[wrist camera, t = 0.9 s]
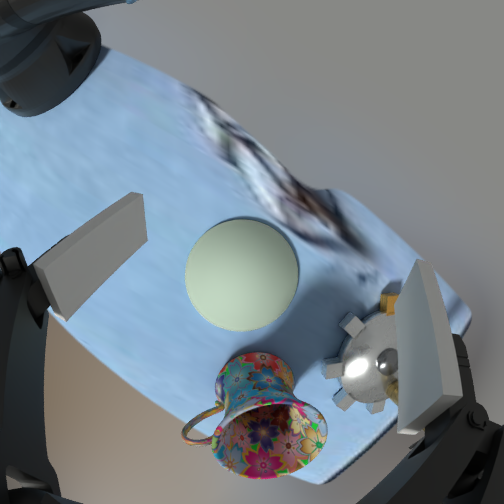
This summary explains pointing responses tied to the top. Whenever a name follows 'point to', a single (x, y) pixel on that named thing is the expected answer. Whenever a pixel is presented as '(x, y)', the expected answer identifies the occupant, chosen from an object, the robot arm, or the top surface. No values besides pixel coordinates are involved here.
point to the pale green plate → (241, 275)
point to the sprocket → (367, 359)
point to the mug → (261, 420)
